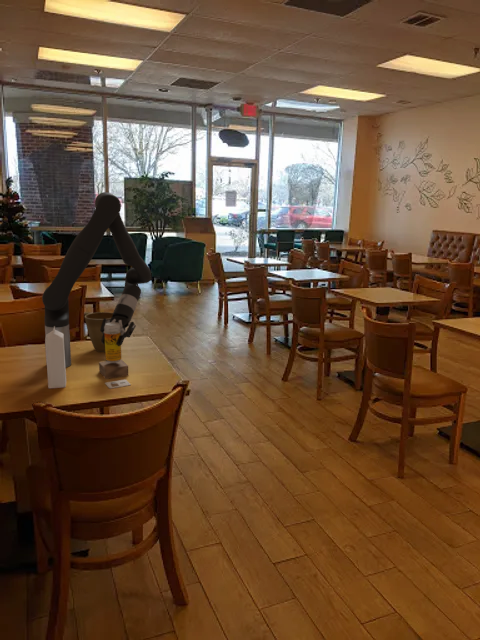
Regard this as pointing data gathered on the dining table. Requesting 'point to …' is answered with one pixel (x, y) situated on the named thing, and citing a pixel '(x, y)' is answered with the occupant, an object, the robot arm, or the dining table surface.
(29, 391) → the dining table surface
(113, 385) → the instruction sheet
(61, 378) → the milk
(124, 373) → the base brick
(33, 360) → the dining table surface
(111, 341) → the yellow canister
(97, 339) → the plant pot
